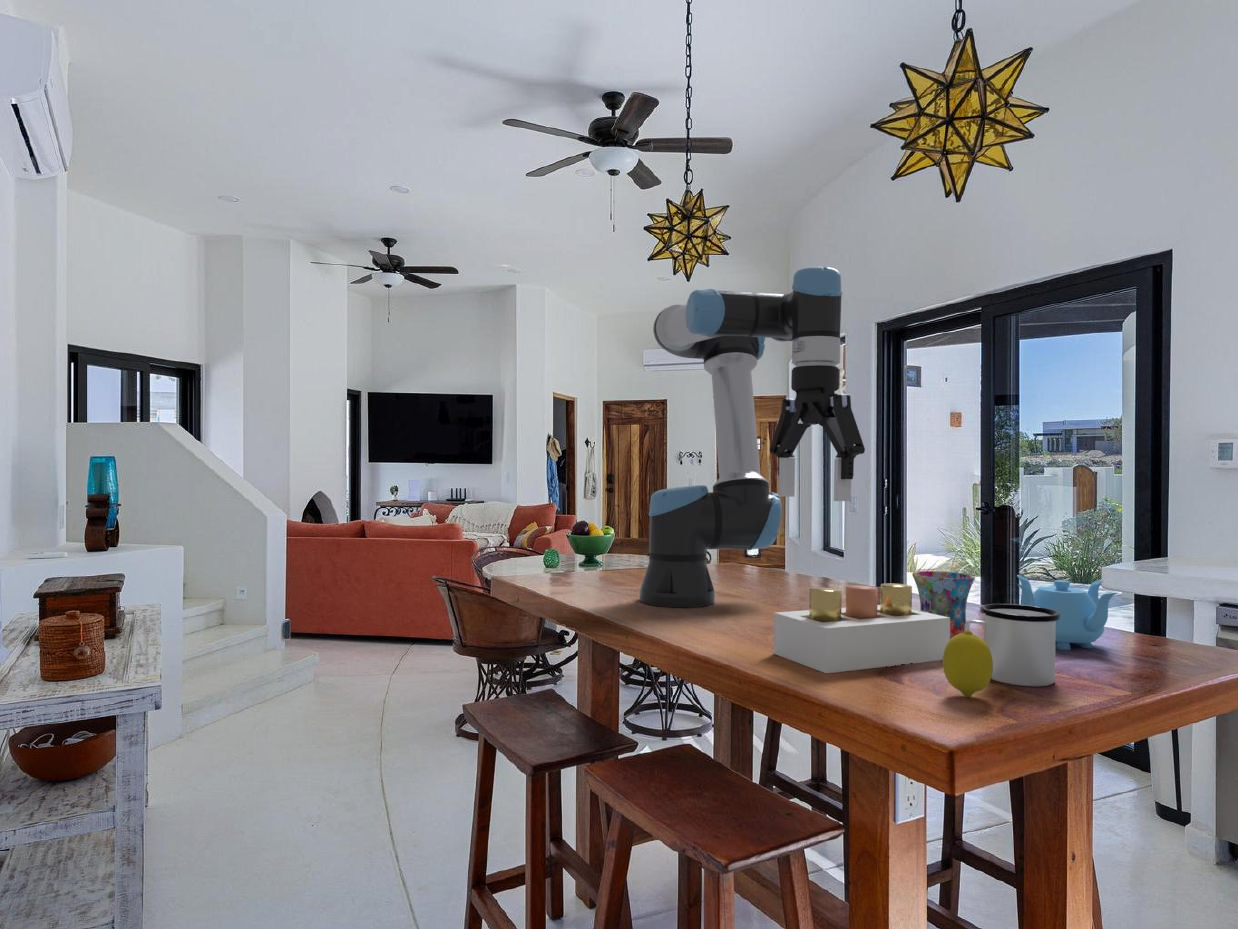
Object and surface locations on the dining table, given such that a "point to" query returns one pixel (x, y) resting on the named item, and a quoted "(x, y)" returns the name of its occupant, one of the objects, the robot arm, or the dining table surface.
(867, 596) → the knob mid
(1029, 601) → the teapot
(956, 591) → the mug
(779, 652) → the block
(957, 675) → the lemon
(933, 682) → the dining table surface
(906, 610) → the knob far
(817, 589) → the knob near
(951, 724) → the dining table surface
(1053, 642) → the mug
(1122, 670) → the dining table surface
